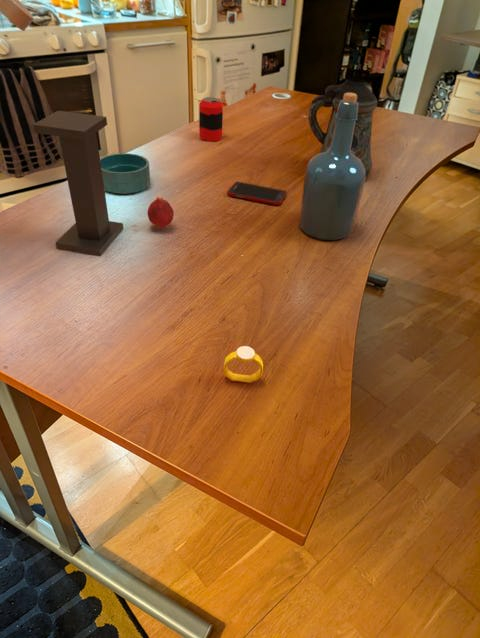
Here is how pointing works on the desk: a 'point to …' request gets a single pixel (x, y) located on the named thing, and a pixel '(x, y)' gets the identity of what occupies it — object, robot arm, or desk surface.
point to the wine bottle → (334, 181)
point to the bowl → (125, 173)
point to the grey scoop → (16, 13)
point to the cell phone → (257, 193)
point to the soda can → (210, 119)
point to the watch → (246, 356)
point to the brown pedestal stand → (82, 181)
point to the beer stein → (362, 124)
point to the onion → (160, 213)
